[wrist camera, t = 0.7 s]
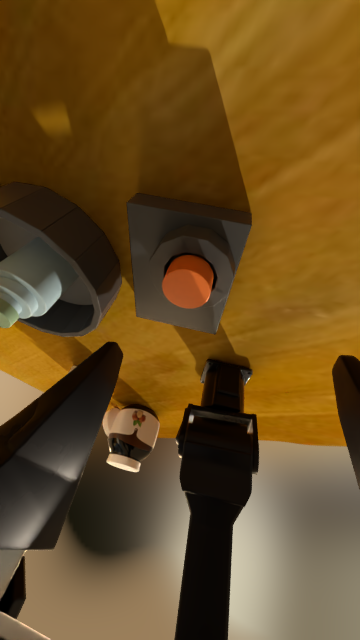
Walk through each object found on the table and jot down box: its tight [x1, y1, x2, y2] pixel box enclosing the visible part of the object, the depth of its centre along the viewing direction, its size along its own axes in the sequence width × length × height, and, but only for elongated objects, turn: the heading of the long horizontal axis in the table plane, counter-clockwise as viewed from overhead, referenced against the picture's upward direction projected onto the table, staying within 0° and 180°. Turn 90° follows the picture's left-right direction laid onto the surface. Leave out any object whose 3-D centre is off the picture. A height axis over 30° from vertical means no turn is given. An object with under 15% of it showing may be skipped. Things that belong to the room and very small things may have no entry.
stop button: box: [162, 255, 214, 309], centre depth 16 cm, size 4×4×2 cm
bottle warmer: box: [0, 182, 122, 337], centre depth 22 cm, size 14×14×5 cm
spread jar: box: [103, 404, 159, 472], centre depth 49 cm, size 12×11×12 cm
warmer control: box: [127, 193, 252, 334], centre depth 20 cm, size 12×9×4 cm
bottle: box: [0, 237, 79, 328], centre depth 21 cm, size 5×5×9 cm
